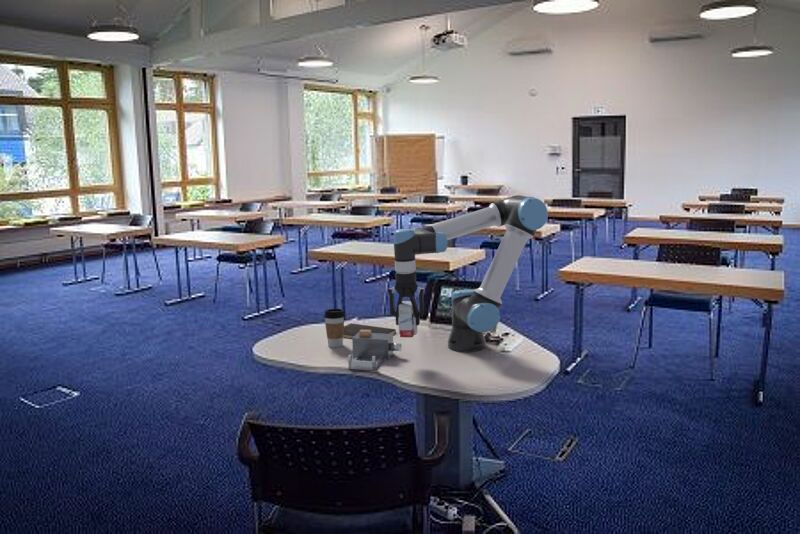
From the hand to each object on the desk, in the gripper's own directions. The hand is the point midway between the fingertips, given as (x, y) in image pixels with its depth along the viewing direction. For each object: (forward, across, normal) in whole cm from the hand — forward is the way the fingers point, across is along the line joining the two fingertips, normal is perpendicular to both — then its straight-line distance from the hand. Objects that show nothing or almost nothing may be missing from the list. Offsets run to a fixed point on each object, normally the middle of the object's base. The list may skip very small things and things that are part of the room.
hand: (408, 333), depth 246 cm
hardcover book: (+12, +28, -36) cm, 47 cm away
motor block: (+11, +14, -7) cm, 19 cm away
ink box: (+1, 0, 0) cm, 1 cm away
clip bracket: (+11, +16, +3) cm, 20 cm away
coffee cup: (+11, +35, -18) cm, 41 cm away
